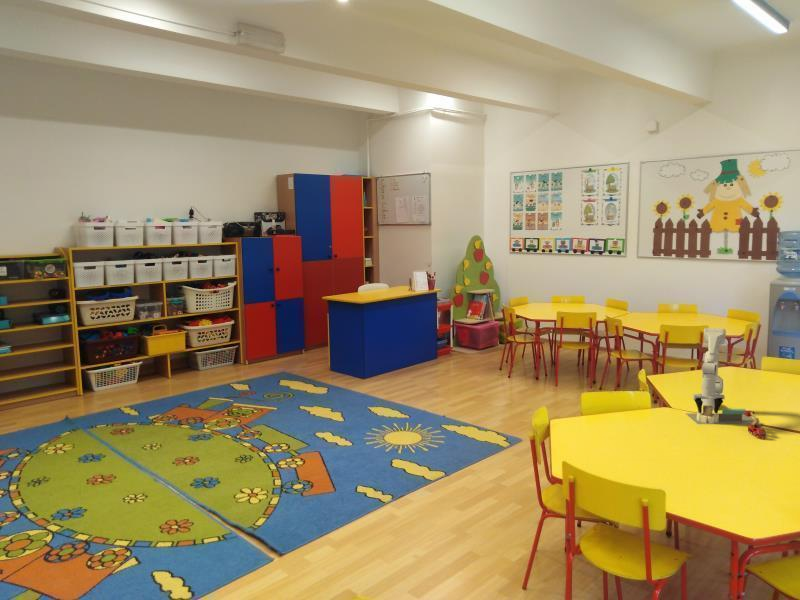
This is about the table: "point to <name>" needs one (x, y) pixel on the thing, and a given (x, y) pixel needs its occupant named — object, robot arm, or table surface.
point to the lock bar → (734, 411)
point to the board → (744, 420)
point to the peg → (707, 410)
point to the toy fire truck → (755, 430)
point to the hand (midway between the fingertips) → (707, 412)
